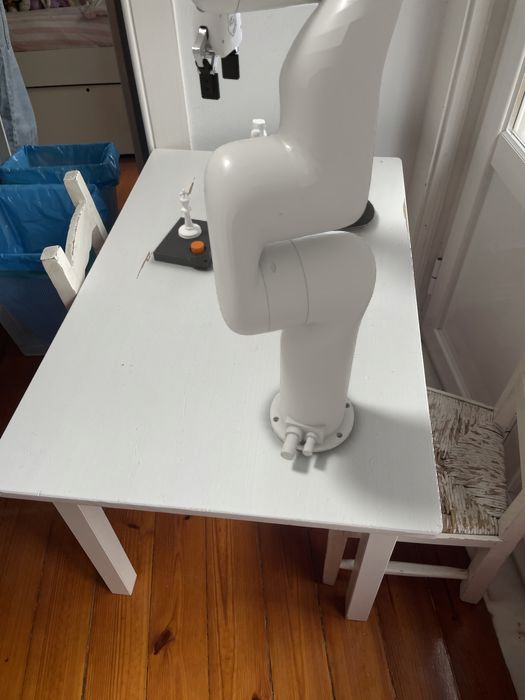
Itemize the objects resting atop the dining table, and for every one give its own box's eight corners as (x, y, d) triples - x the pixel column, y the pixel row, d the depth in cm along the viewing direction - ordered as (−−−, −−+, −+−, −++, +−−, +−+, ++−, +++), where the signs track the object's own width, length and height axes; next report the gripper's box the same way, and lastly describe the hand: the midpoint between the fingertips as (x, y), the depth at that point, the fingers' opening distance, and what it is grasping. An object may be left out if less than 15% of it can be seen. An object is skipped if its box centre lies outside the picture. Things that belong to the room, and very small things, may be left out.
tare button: (201, 254, 97) (200, 249, 96) (189, 252, 98) (188, 247, 97) (206, 247, 99) (205, 242, 98) (194, 245, 99) (193, 240, 98)
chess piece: (176, 228, 106) (169, 185, 98) (198, 224, 107) (192, 181, 99) (181, 240, 102) (173, 197, 95) (203, 236, 103) (197, 193, 96)
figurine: (277, 172, 126) (276, 112, 115) (271, 190, 120) (270, 129, 109) (249, 171, 127) (246, 111, 116) (243, 189, 121) (239, 128, 110)
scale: (207, 272, 98) (205, 258, 96) (152, 263, 101) (149, 249, 98) (232, 233, 108) (231, 219, 105) (182, 225, 110) (179, 211, 108)
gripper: (212, -23, 66) (223, 109, 78) (253, -45, 77) (257, 73, 89) (162, -24, 67) (181, 105, 80) (209, -46, 78) (219, 70, 91)
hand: (221, 88), depth 85 cm, fingers open, 9 cm apart
